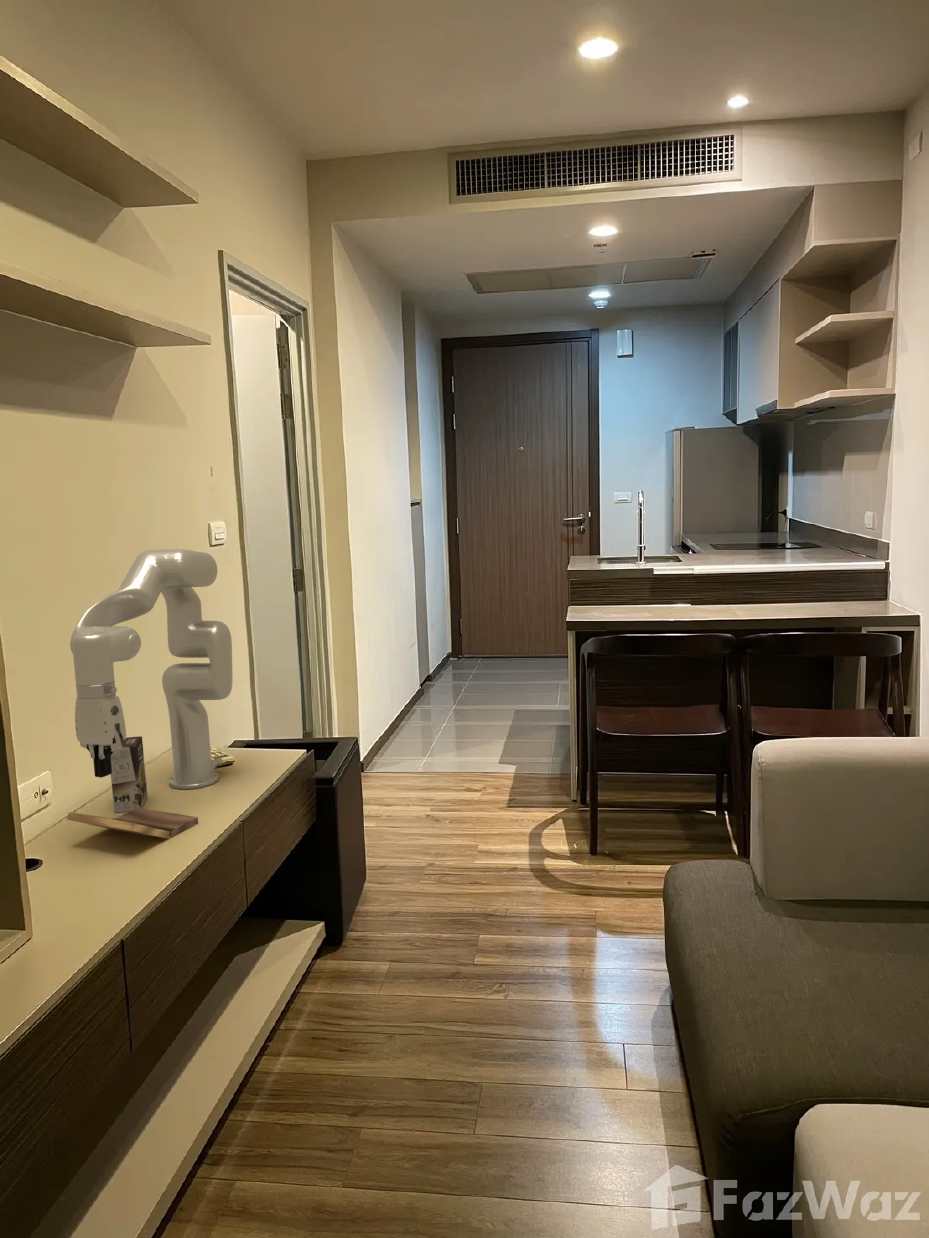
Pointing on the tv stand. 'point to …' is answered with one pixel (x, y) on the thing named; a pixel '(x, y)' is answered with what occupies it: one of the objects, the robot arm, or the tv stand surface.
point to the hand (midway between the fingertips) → (103, 775)
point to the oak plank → (117, 825)
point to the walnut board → (160, 820)
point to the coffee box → (129, 776)
